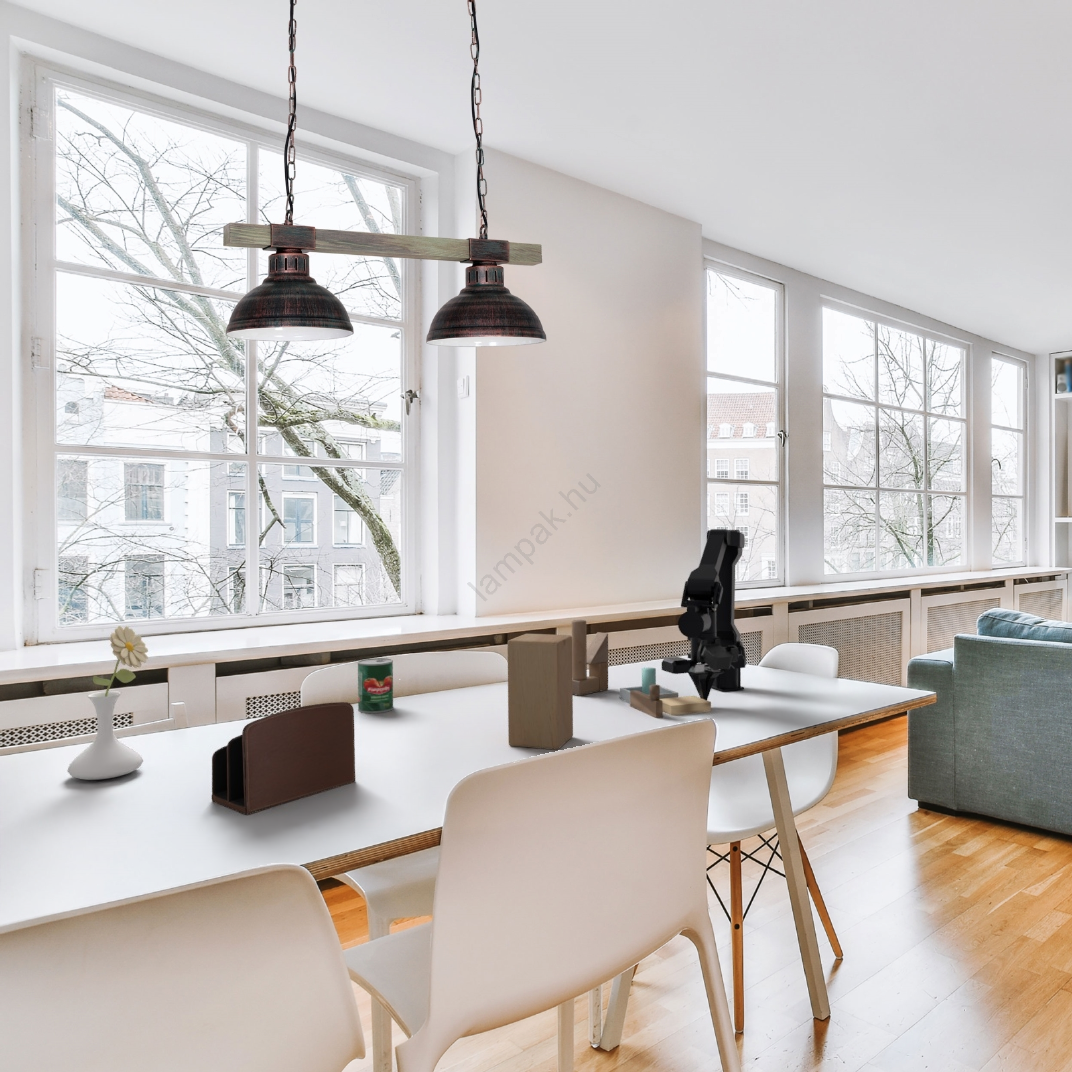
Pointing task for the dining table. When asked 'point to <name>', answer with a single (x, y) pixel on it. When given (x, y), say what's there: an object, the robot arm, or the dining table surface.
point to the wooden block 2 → (588, 660)
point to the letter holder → (286, 758)
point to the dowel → (648, 679)
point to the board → (685, 705)
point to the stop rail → (648, 701)
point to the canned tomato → (375, 685)
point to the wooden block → (540, 691)
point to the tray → (626, 691)
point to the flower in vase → (111, 717)
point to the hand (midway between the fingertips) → (704, 701)
